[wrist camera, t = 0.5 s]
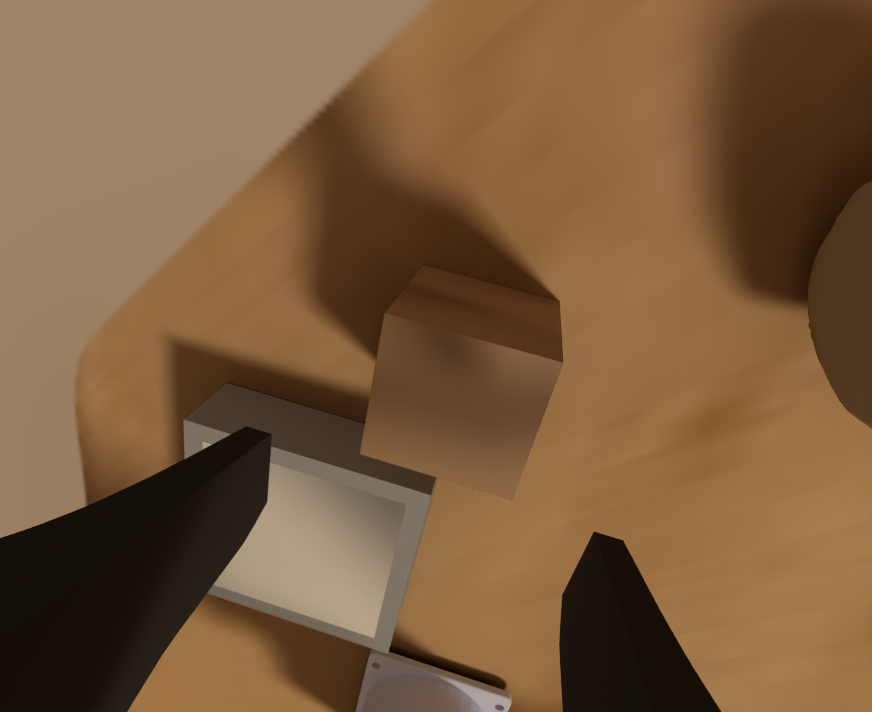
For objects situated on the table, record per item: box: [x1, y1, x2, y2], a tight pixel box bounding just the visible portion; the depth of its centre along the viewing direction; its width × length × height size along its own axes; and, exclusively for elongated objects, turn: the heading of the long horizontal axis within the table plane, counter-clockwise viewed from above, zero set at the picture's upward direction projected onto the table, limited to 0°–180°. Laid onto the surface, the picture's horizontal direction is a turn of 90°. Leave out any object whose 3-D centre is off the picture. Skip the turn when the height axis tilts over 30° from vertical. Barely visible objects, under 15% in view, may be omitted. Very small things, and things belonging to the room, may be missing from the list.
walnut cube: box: [360, 265, 563, 500], centre depth 17 cm, size 5×5×5 cm
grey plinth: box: [183, 383, 437, 654], centre depth 23 cm, size 10×10×3 cm
